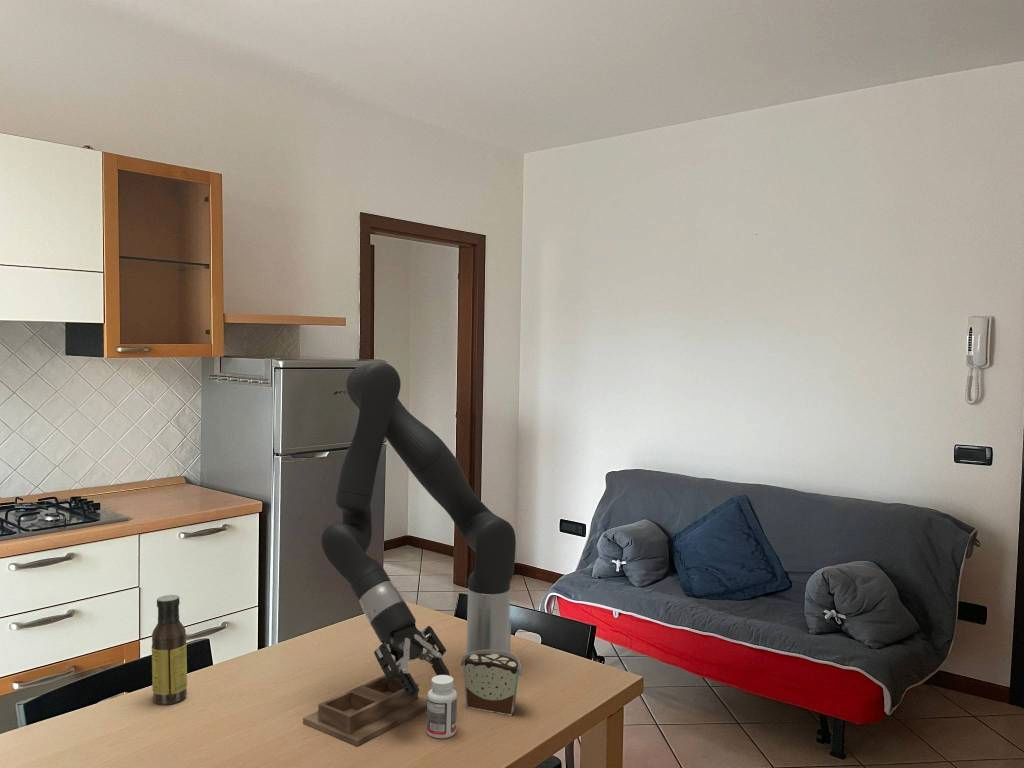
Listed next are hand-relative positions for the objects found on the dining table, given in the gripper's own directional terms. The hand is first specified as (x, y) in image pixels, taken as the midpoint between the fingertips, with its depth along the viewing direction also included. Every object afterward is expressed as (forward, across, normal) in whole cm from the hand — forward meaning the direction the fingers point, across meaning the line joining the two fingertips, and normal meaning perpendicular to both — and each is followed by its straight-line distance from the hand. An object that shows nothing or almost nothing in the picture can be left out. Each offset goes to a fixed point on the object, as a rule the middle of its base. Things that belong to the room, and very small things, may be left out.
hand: (431, 687), depth 146 cm
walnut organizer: (-3, -3, +14) cm, 15 cm away
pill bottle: (+7, 0, +4) cm, 8 cm away
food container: (+8, +15, +3) cm, 17 cm away
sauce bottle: (-28, -22, +39) cm, 53 cm away
